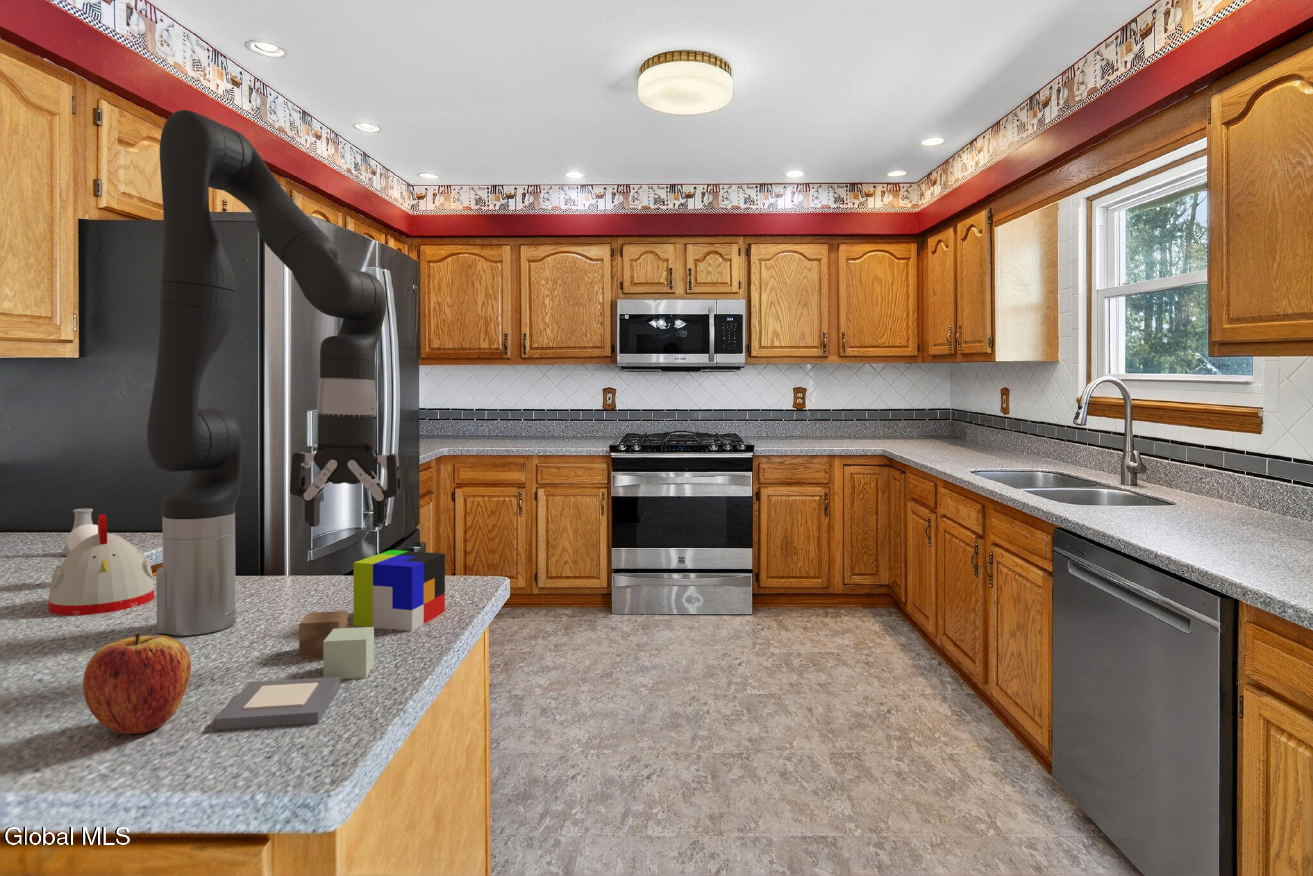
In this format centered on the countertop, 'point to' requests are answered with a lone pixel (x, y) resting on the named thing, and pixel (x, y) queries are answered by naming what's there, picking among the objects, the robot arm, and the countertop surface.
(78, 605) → the kitchen timer
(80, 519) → the flask
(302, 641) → the walnut block
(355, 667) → the sage block
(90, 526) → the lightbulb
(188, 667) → the apple
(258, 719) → the build board
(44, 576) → the countertop surface
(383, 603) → the puzzle toy
